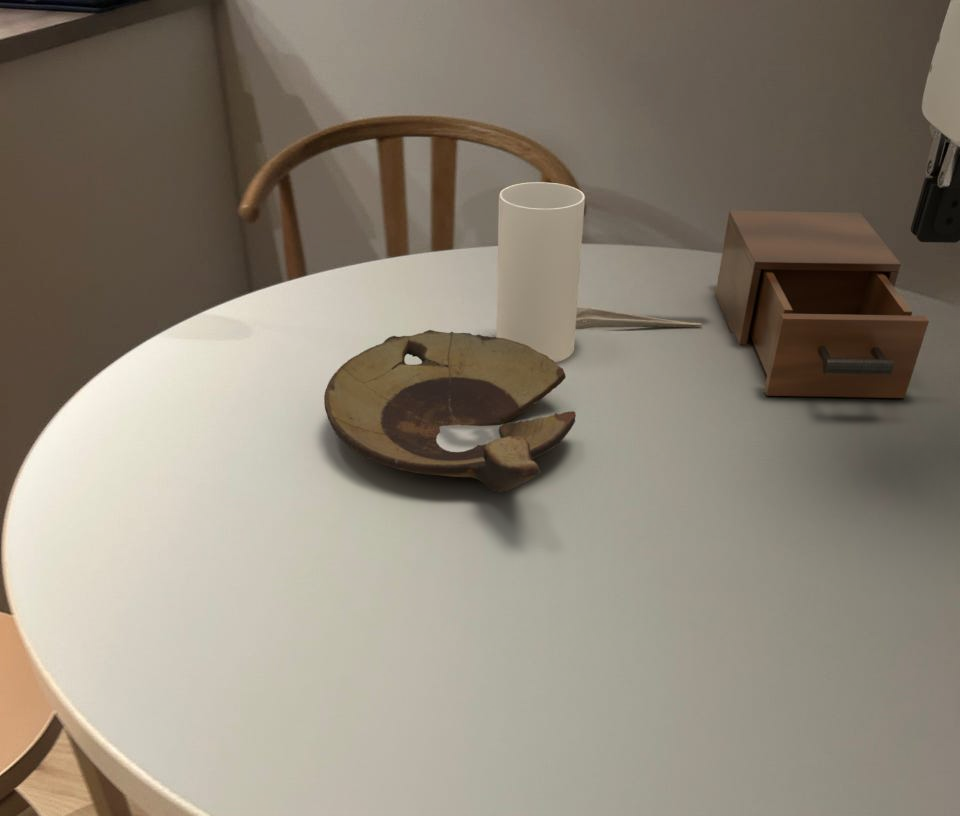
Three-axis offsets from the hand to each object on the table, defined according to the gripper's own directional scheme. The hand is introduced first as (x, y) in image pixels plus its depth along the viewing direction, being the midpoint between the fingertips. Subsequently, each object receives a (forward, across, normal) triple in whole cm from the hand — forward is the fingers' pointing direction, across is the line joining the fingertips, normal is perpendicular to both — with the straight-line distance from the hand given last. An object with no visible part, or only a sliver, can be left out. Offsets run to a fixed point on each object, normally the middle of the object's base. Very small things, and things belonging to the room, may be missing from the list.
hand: (934, 236), depth 75 cm
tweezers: (+20, +29, +19) cm, 40 cm away
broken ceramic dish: (+20, +1, +37) cm, 42 cm away
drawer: (+19, +17, 0) cm, 25 cm away
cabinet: (+20, +31, 0) cm, 37 cm away
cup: (+20, +22, +29) cm, 42 cm away
